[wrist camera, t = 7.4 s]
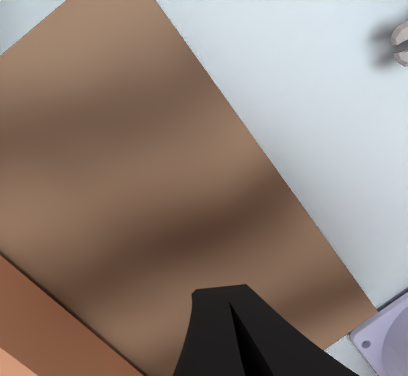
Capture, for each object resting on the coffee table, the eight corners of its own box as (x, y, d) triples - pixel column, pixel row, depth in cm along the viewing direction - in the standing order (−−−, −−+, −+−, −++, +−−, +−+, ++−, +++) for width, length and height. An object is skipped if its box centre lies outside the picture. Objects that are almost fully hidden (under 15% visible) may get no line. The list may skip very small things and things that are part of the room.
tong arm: (184, 402, 20) (192, 482, 16) (145, 431, 20) (144, 517, 16) (-92, 168, 15) (-176, 204, 11) (-139, 211, 15) (-238, 260, 11)
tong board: (365, 299, 21) (431, 369, 16) (111, 478, 23) (101, 593, 18) (124, -38, 15) (110, -91, 10) (-207, 240, 16) (-362, 315, 11)
